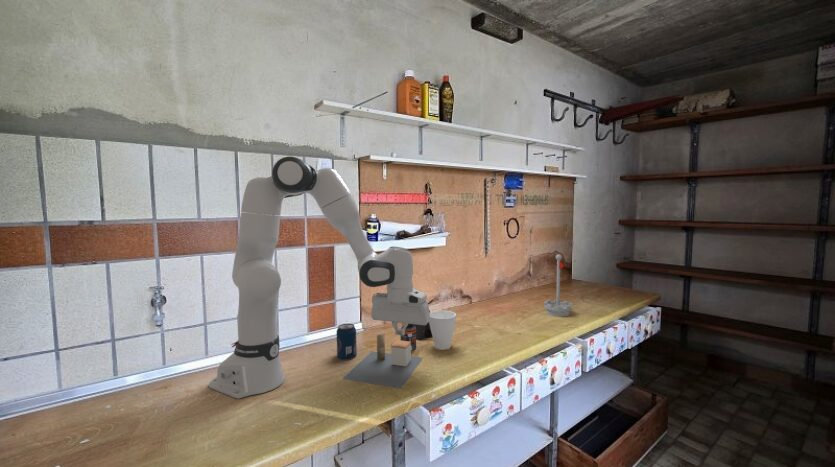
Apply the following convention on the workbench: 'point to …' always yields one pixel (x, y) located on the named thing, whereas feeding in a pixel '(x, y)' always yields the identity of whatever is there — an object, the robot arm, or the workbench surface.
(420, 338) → the door stopper
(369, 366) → the board
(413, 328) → the supplement bottle
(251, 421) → the workbench surface
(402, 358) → the white block tan top
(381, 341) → the birch dowel
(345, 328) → the soda can
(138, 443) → the workbench surface
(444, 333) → the cup
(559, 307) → the flag stand
